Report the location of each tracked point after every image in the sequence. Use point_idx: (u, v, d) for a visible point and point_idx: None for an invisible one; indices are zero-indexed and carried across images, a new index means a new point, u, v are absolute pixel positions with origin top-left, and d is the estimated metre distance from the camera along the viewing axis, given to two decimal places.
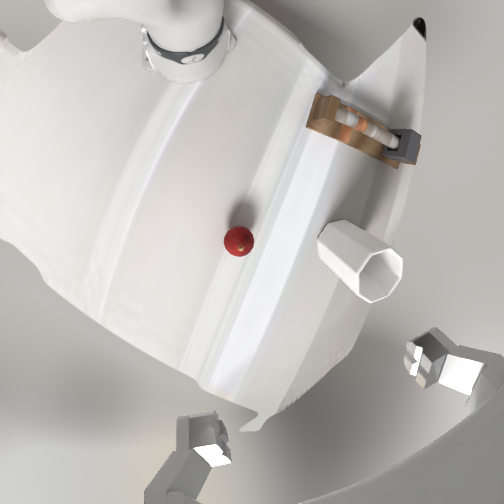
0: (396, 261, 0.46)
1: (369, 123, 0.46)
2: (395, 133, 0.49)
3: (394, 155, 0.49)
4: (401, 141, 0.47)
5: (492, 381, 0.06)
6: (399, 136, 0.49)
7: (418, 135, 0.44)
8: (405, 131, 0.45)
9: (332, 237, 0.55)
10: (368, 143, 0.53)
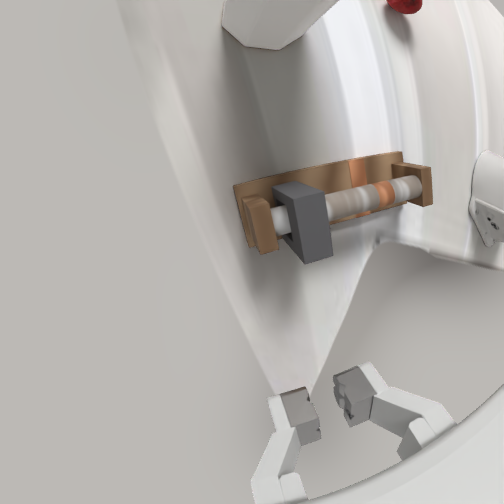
0: None
1: (377, 204, 0.29)
2: None
3: None
4: None
5: (420, 436, 0.05)
6: None
7: (313, 258, 0.26)
8: None
9: None
10: (316, 184, 0.33)
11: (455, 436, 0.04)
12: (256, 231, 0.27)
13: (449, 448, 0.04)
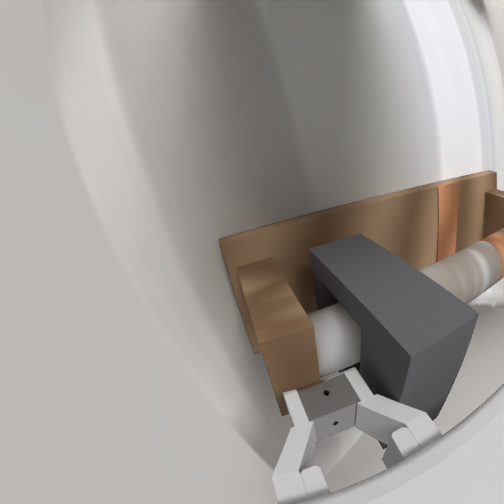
0: None
1: (495, 282, 0.12)
2: None
3: None
4: None
5: (402, 447, 0.05)
6: None
7: None
8: None
9: None
10: (386, 232, 0.16)
11: (455, 436, 0.04)
12: (275, 384, 0.10)
13: (449, 448, 0.04)
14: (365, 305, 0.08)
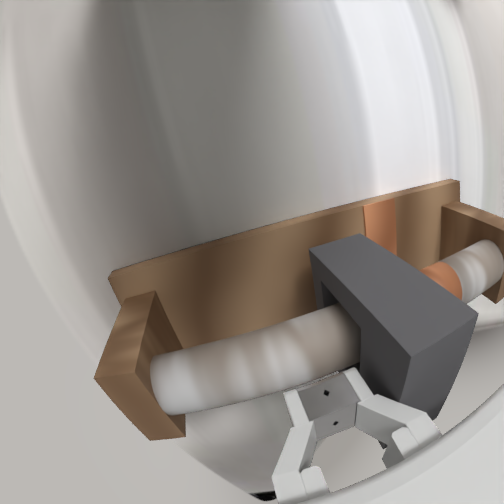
0: None
1: None
2: None
3: None
4: None
5: (402, 446, 0.05)
6: None
7: None
8: None
9: None
10: (288, 263, 0.16)
11: (455, 436, 0.04)
12: (126, 413, 0.10)
13: (449, 448, 0.04)
14: (365, 305, 0.08)
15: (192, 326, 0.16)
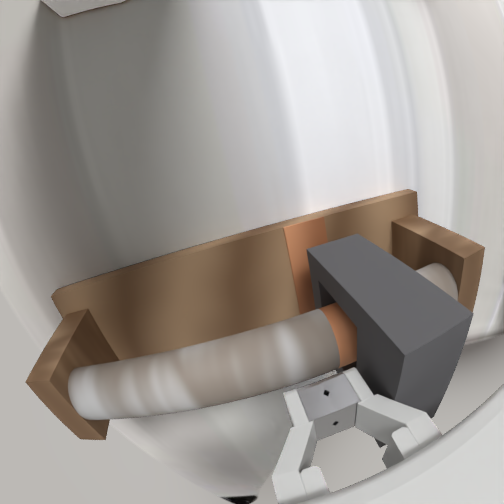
0: None
1: (333, 369, 0.11)
2: None
3: None
4: None
5: (402, 446, 0.05)
6: None
7: None
8: None
9: None
10: (203, 287, 0.15)
11: (455, 436, 0.04)
12: (54, 413, 0.09)
13: (449, 448, 0.04)
14: (361, 304, 0.09)
15: (123, 341, 0.16)
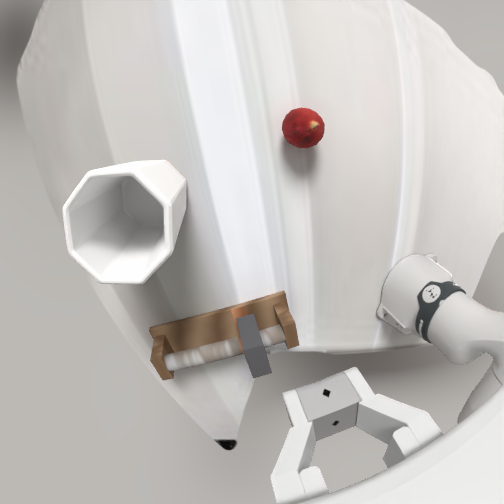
0: (98, 265, 0.23)
1: (241, 353, 0.42)
2: None
3: (258, 330, 0.41)
4: None
5: (403, 446, 0.05)
6: None
7: (258, 375, 0.39)
8: None
9: (183, 202, 0.34)
10: (205, 327, 0.46)
11: (455, 436, 0.04)
12: (157, 370, 0.41)
13: (449, 448, 0.04)
14: (240, 338, 0.40)
15: (177, 345, 0.47)
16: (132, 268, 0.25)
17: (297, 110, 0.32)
